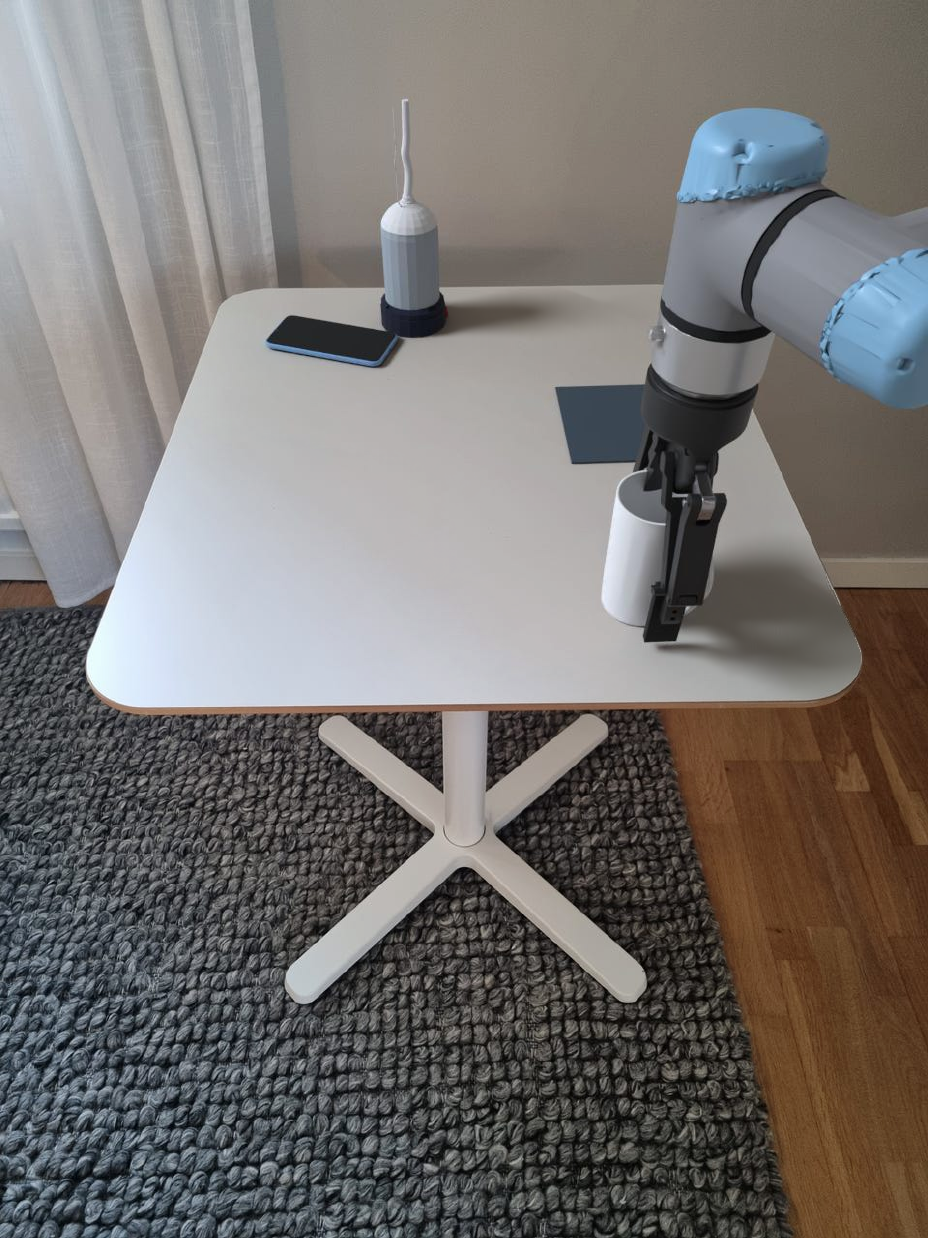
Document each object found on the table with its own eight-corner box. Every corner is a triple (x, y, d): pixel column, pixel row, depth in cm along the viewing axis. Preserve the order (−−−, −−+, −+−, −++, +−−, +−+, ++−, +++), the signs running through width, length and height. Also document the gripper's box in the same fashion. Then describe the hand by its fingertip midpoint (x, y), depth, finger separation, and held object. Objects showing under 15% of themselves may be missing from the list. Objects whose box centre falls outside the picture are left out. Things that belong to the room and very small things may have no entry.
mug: (582, 594, 78) (598, 490, 69) (636, 563, 80) (658, 458, 71) (663, 665, 72) (692, 561, 63) (718, 628, 75) (754, 524, 66)
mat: (704, 459, 91) (705, 458, 91) (571, 463, 90) (571, 462, 90) (675, 384, 100) (676, 383, 100) (555, 388, 100) (555, 386, 100)
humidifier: (459, 318, 110) (458, 98, 92) (416, 344, 106) (406, 119, 87) (411, 298, 114) (400, 82, 95) (367, 323, 109) (348, 102, 91)
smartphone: (378, 362, 102) (261, 342, 105) (378, 369, 102) (262, 348, 105) (400, 331, 106) (287, 312, 109) (400, 337, 107) (288, 318, 110)
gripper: (622, 294, 66) (588, 520, 83) (683, 470, 52) (627, 698, 69) (720, 292, 66) (666, 517, 83) (807, 467, 52) (721, 694, 69)
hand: (649, 599), depth 76 cm, fingers closed on mug, 8 cm apart
